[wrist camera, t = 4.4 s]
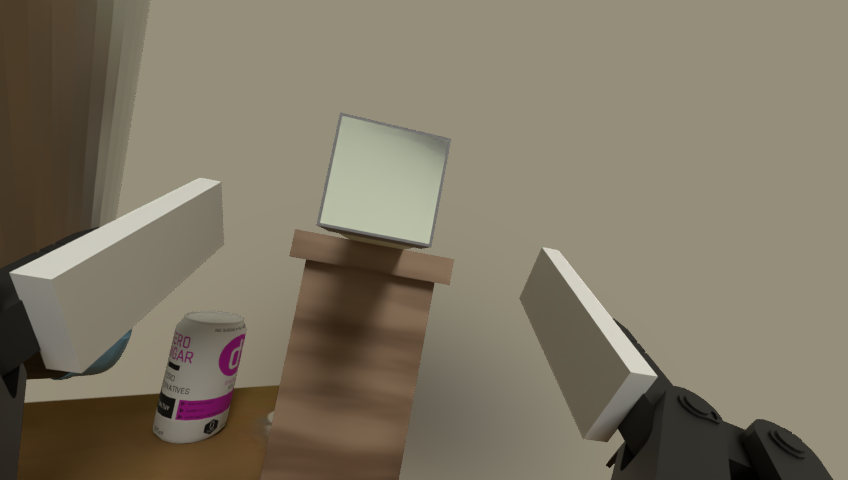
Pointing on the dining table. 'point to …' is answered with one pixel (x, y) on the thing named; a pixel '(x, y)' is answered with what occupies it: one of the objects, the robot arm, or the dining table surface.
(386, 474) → the stand
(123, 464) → the dining table surface
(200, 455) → the dining table surface
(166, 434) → the supplement can
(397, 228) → the bar
